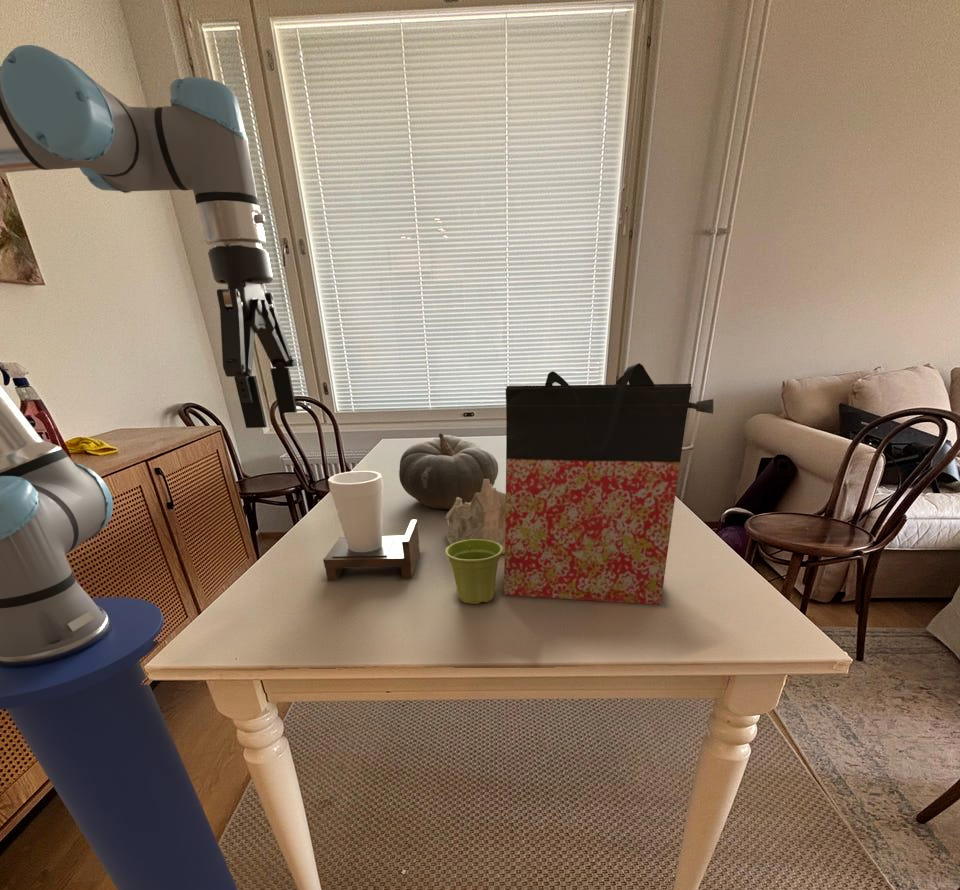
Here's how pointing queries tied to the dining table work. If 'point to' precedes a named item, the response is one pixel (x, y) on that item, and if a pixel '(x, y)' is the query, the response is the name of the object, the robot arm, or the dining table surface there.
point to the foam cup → (359, 508)
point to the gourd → (446, 471)
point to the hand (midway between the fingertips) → (273, 419)
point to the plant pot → (474, 568)
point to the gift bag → (592, 486)
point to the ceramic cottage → (479, 517)
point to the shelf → (377, 554)
